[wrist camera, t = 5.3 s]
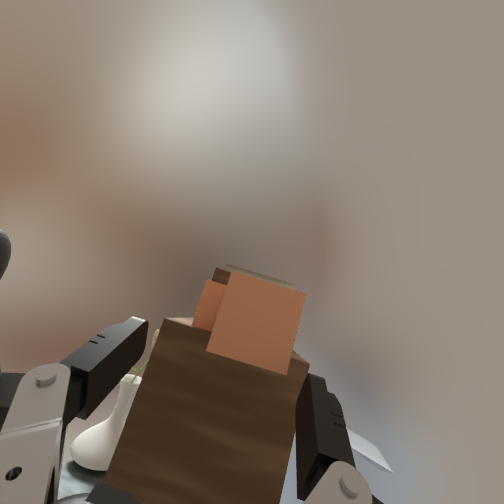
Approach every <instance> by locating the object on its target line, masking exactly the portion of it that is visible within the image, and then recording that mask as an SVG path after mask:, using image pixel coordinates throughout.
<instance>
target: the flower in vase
mask: <svg viewBox="0 0 504 504" xmlns="http://www.w3.org/2000/svg"><path fill="white" fill-rule="evenodd" d="M159 331H160V330H159V329H157V330H156V333H154V337H155V338H153V344H152V346H151V348H152V350H153V347H154V345H155V342H156V339H157V337H158V334H159ZM148 361H149V359H148ZM148 361H147V362H146V363H145V365H144V366H143V367H142V368H141V369H140V368H138V367H137V366H135V365H134V366H133V367H132V368H131V369H133V370H135V371H137V372H138V373H137V374H136V375H128V374H126V375H125V376H124V377H123V378H122V379H121V381H120V391H119V396H118V400H117V403H116V406H115V408H114V410H113V412H112V414H111V416H110V417H109V418H108V419H107V420H105V421H103V422H101V423H99V424H97V425H95V426H93V427H91V428H89V429H87V430H86V431H84V432H83V433H81V434H80V435H79V436H78V437H77V438H76V439H75V441H74V442H73V443H72V445H71V454H72V457H73V459H74V461H75V462H76V463H77V464H79V465H80V466H82V467H84V468H87V469H91V470H97V471H107V470H108V467H109V464H110V462H111V459H112V456H113V454H114V451H115V448H116V446H117V443H118V441H119V438H120V435H121V433H122V430H123V427H124V425H125V421H124V417H125V413H126V410H127V407H128V405H129V402H130V400H131V398H132V396H133V395H134V393H135V392H136V390H137V389H138V387H139V385H140V382H141V379H142V378H140V377H138V376H137V375H138V374H139V373H140V372H141V371H142V369H143V368H144V367H145V366H146V365H147V363H148Z"/></svg>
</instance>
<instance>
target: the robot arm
mask: <svg viewBox="0 0 504 504" xmlns="http://www.w3.org/2000/svg"><path fill="white" fill-rule="evenodd" d="M10 256H11V243H10V240H9V238H8V236H7V235H6V234H5V233H4V232H3V231H2V230H0V279H1V278H2V276H3V274H4V272H5V270H6V268H7V266H8V262H9V260H10ZM147 331H148V321H146V320H144V319H140V318H137V317H134V316H132V317H131V318H129V319H128V320H127V321H126V322H124V323H123V324H120V323H117V324H114V325H112V326H109V327H107V328H105V329H104V330H103V331H101V332H100V333H98V334H97V336H94V337H93V338H92V339H91V340H90V341H89V342H87V343H85V344H84V345H83V346H81V347H80V348H79V349H77V350H76V351H75V352H73V353H72V354H71V355H69V356H68V357H67V358H65V359H64V360H63V361H61V362H60V363H52V364H46V365H42V366H39V367H37V368H34V369H33V370H31V371H29V372H28V373H26V374H24V373H22V374H21V373H1V372H0V504H141V503H139V502H138V501H137V500H136V499H135V498H134V497H133V496H132V495H131V494H129V493H128V492H126V491H123V490H121V489H118V488H116V487H113V486H110V485H108V484H105V483H103V482H100V481H98V482H97V483H96V485H95V486H94V488H93V489H92V491H91V493H83V494H76V495H72V496H68V497H65V498H62V499H60V500H57V498H58V488H59V480H60V473H61V467H62V461H63V454H64V448H65V442H66V435H67V429H68V424H69V423H70V422H71V421H72V420H73V419H74V418H75V417H78V418H81V419H83V420H86V419H87V418H88V417H89V416H90V414H91V413H92V412H93V411H94V410H95V409H96V408H97V406H98V405H99V404H100V403H101V402H102V401H103V400H104V399H105V397H106V396H107V395H108V394H109V393H110V392H111V391H112V390H113V388H114V387H115V386H116V385H117V384H118V383H119V382H120V381H121V379H122V378H123V377H124V376H125V375H126V374H127V372H129V370H130V369H131V368H132V367H133V366H134V365H135V364H136V362H137V361H138V360H139V359H140V357H141V356H142V354H143V352H144V349H145V344H146V338H147ZM343 418H344V416H343V412H342V408H341V405H340V403H339V401H338V400H337V398H336V396H335V395H334V394H332V393H329V392H327V387H326V382H325V379H324V378H322V377H319V376H316V375H313V374H310V373H308V374H307V375H306V378H305V380H304V383H303V386H302V388H301V391H300V393H299V396H298V399H297V402H296V409H295V426H296V468H297V498H298V499H300V500H303V501H305V502H304V503H303V504H384V503H382V502H381V501H379V500H378V499H377V498H376V497H375V496H373V495H372V494H371V491H370V488H369V486H368V484H367V482H366V480H365V479H364V477H363V476H362V475H361V473H360V472H359V471H358V470H357V469H356V467H355V463H354V458H353V454H352V450H351V446H350V441H349V437H348V433H347V429H346V424H345V420H344V419H343Z"/></svg>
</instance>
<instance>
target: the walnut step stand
mask: <svg viewBox="0 0 504 504" xmlns="http://www.w3.org/2000/svg"><path fill="white" fill-rule="evenodd" d="M232 271H235V272H238V273H241V274H244V275H247V276H251V277H254V278H257V279H260V280H263V281H267V282H270V283H273V284H276V285H279V286H282V287H286V288H289V289H292V290H293V286H294V284H293V283H289V282H286V281H282V280H279V279H276V278H272V277H268V276H265V275H262V274H259V273H255V272H252V271H248V270H245V269H242V268H238V267H235V266H231V265H228V264H225V267H224V270H222V269H219V268H216V270H215V272H214V275H213V278H212V281H214V282H217V283H220V284H224V285H227V284H228V281H229V278H230V275H231V272H232ZM193 319H194V318H164V321H163V324H162V326H161V329H160V331H159V334H158V337H157V339H156V342H155V345H154V347H153V350H152V353H151V355H150V358H149V361H148V363H147V366H146V369H145V371H144V374H143V377H142V379H141V382H140V385H139V387H138V390H137V393H136V396H135V398H134V401H133V403H132V406H131V409H130V411H129V414H128V417H127V419H126V422H125V425H124V427H123V430H122V433H121V435H120V438H119V441H118V443H117V446H116V448H115V451H114V454H113V456H112V459H111V462H110V464H109V467H108V470H107V472H106V475H105V478H104V480H103V483H105V484H108V485H110V486H113V487H116V488H118V489H121V490H123V491H126V492H128V493H129V494H131V495H132V496H133V497H134V498H135V499H136V500H137V501H138V502H139V503H141V504H279V503H280V498H281V493H282V489H283V484H284V480H285V474H286V470H287V466H288V461H289V457H290V452H291V447H292V443H293V439H294V433H295V429H296V426H295V409H296V402H297V399H298V396H299V393H300V391H301V388H302V386H303V383H304V380H305V378H306V375H307V374H308V370H309V365H310V364H309V363H308V362H307V361H305V360H304V359H303V358H301V357H300V356H299V355H298V354H297V353H296V352H294V351H293V350H292V354H291V358H290V363H289V367H288V371H287V375H284V374H280V373H277V372H274V371H271V370H267V369H264V368H261V367H257V366H254V365H251V364H247V363H244V362H241V361H237V360H234V359H231V358H227V357H224V356H221V355H217V354H214V353H211V352H207V351H206V349H207V346H208V343H209V340H210V336H211V333H212V332H210V331H207V330H204V329H200V328H197V327H194V326H191V325H192V322H193Z"/></svg>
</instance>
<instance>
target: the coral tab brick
mask: <svg viewBox="0 0 504 504" xmlns="http://www.w3.org/2000/svg"><path fill="white" fill-rule="evenodd" d="M305 296H306V294H305V293H301V292H298V291H295V290H292V289H289V288H286V287H282V286H279V285H276V284H273V283H270V282H267V281H263V280H260V279H257V278H254V277H251V276H247V275H244V274H241V273H238V272H235V271H232V272H231V275H230V278H229V281H228V284H227V285H224V284H220V283H217V282H214V281H211V280H208V279H207V281H206V284H205V287H204V290H203V293H202V296H201V299H200V302H199V305H198V307H197V310H196V313H195V316H194V319H193V322H192V325H191V326H194V327H197V328H200V329H204V330H207V331H210V332H212V333H211V336H210V340H209V343H208V346H207V349H206V351H207V352H211V353H214V354H217V355H221V356H224V357H227V358H231V359H234V360H237V361H241V362H244V363H247V364H251V365H254V366H257V367H261V368H264V369H267V370H271V371H274V372H277V373H280V374H284V375H287V371H288V367H289V363H290V358H291V354H292V350H293V346H294V341H295V337H296V333H297V329H298V325H299V320H300V316H301V312H302V308H303V304H304V300H305Z"/></svg>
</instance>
